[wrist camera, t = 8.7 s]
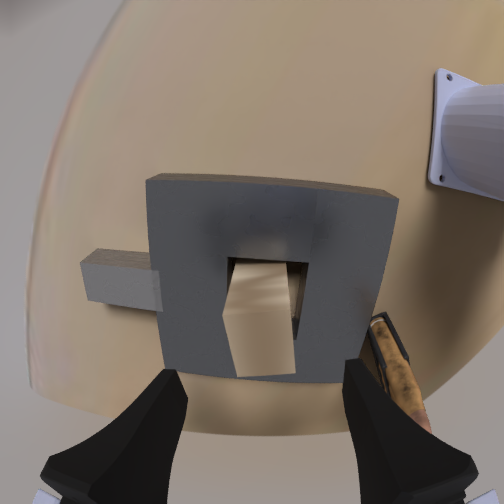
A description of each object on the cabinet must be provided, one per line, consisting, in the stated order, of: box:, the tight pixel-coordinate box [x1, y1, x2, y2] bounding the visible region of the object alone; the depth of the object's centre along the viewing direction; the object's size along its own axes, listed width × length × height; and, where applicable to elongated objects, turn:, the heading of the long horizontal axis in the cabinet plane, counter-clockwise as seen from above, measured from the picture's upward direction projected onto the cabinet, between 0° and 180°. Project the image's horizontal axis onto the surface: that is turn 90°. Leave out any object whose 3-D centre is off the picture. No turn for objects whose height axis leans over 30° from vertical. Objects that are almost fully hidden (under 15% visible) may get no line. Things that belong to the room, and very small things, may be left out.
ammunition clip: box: [367, 312, 432, 434], centre depth 17 cm, size 11×2×12 cm, turn 25°
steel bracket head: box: [80, 173, 399, 383], centre depth 19 cm, size 20×14×2 cm
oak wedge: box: [222, 257, 296, 377], centre depth 17 cm, size 3×4×7 cm
